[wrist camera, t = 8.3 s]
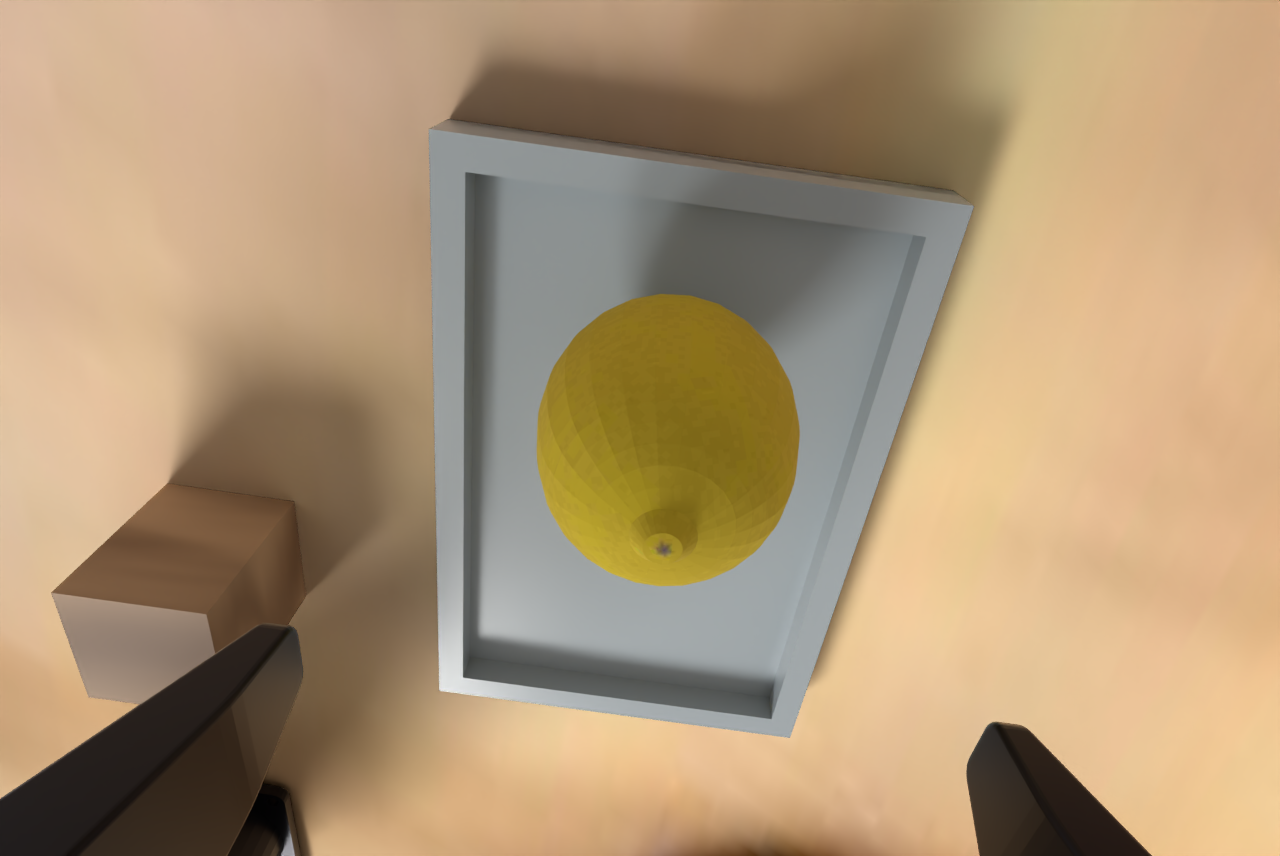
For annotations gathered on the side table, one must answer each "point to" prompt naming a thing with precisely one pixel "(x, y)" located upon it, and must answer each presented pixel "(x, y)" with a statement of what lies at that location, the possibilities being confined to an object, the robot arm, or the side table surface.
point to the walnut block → (179, 588)
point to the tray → (571, 299)
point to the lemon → (667, 440)
